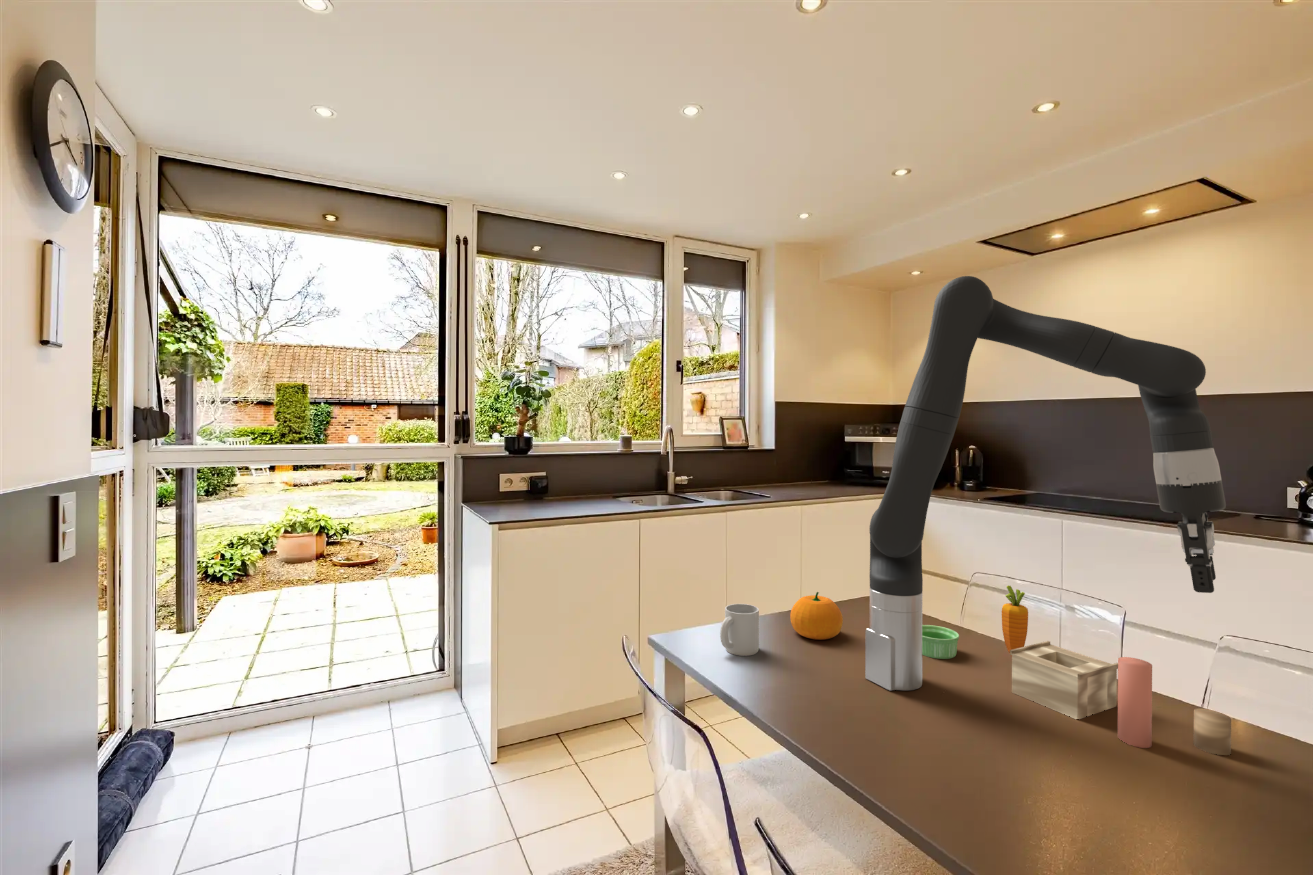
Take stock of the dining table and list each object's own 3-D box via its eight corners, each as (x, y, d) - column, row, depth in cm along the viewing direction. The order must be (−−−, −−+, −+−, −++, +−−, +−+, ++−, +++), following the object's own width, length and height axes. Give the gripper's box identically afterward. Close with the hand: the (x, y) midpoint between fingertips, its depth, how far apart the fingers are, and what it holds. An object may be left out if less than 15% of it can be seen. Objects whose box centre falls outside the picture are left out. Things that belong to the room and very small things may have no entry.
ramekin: (909, 642, 130) (909, 623, 130) (953, 646, 128) (953, 626, 127) (915, 658, 121) (915, 636, 121) (963, 662, 119) (963, 641, 119)
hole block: (1080, 720, 95) (1080, 674, 95) (1009, 691, 105) (1009, 650, 105) (1119, 707, 99) (1119, 663, 99) (1047, 680, 110) (1048, 640, 110)
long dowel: (1142, 750, 86) (1143, 669, 86) (1111, 737, 90) (1112, 659, 89) (1157, 744, 88) (1158, 664, 88) (1126, 731, 91) (1127, 655, 91)
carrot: (1033, 665, 117) (1033, 590, 117) (1006, 663, 118) (1006, 589, 118) (1023, 656, 122) (1023, 584, 122) (996, 654, 123) (997, 583, 123)
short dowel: (1222, 758, 84) (1223, 723, 84) (1188, 744, 88) (1188, 711, 87) (1236, 751, 86) (1236, 717, 86) (1201, 738, 89) (1202, 706, 89)
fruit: (832, 625, 141) (832, 584, 141) (850, 643, 129) (850, 598, 129) (784, 626, 141) (784, 585, 140) (798, 644, 129) (798, 599, 129)
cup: (765, 650, 125) (765, 609, 125) (734, 662, 119) (734, 619, 119) (740, 641, 131) (740, 601, 131) (709, 652, 124) (709, 610, 124)
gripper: (1160, 477, 97) (1176, 575, 96) (1151, 485, 87) (1169, 594, 86) (1222, 474, 92) (1240, 577, 91) (1220, 482, 82) (1240, 598, 81)
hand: (1205, 585), depth 89 cm, fingers open, 8 cm apart
